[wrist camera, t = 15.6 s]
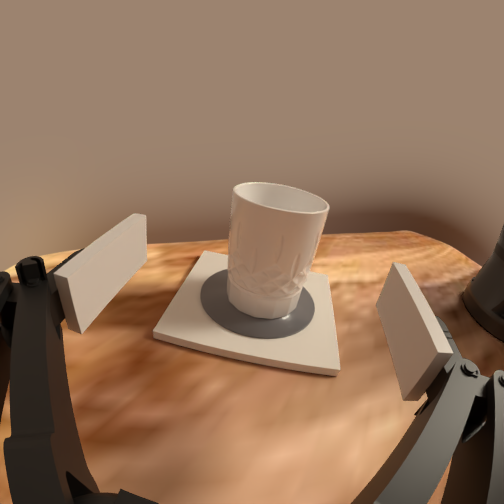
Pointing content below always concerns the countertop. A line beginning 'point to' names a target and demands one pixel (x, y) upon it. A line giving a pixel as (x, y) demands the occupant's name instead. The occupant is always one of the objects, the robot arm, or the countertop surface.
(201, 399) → the countertop surface
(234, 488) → the countertop surface
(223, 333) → the trivet
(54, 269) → the robot arm
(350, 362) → the countertop surface
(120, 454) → the countertop surface
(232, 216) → the white cup
